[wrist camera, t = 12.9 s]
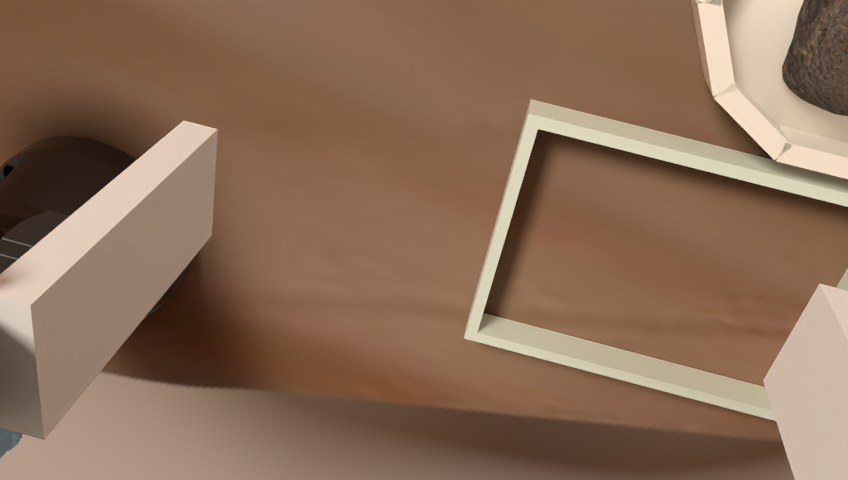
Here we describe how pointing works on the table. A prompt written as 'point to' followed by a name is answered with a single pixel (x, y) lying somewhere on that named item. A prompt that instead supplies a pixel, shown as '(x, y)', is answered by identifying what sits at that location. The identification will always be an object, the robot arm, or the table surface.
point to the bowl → (766, 82)
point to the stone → (820, 56)
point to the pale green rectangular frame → (607, 357)
